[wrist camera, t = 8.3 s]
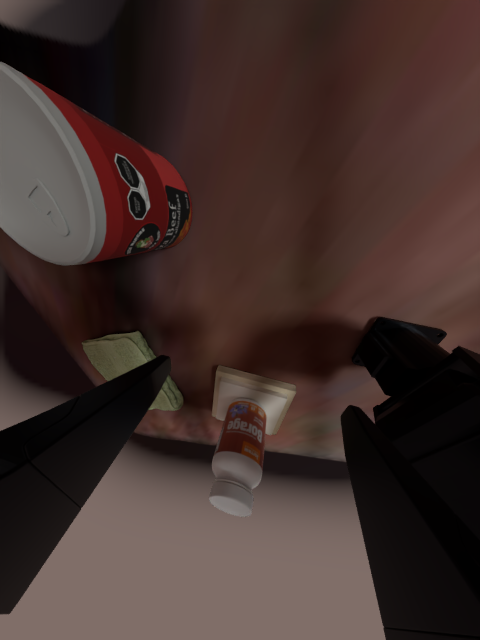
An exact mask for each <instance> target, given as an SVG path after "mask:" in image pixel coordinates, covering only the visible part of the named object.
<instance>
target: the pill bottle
mask: <svg viewBox="0 0 480 640" xmlns="http://www.w3.org/2000/svg"><path fill="white" fill-rule="evenodd" d="M266 419H267V415H266V411H265V409H264V408H263V406H262V405H260V404H259V403H258V402H256V401H254V400H251V399H246V398H240V399H236V400H234V401H232V402H231V403H230V405H229V407H228V410H227V413H226V417H225V420H224V423H223V427H222V430H221V433H220V437H219V440H218V444H217V447H216V450H215V454H214V457H213V461H212V470H213V473H214V475H215V476H216V480H214V482H213V485H212V488H211V492H210V496H209V501H210V503H211V504H212V505H213V506H215V507H216V508H218V509H220V510H222V511H224V512H226V513H229V514H232V515H236V516H241V517H247V516H250V515H251V513H252V505H253V494H252V491H251V490H252V489H253V488H255V487H256V486H257V485H258V484H259V482H260V481H261V477H262V469H263V456H264V444H265V432H266Z"/></svg>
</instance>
